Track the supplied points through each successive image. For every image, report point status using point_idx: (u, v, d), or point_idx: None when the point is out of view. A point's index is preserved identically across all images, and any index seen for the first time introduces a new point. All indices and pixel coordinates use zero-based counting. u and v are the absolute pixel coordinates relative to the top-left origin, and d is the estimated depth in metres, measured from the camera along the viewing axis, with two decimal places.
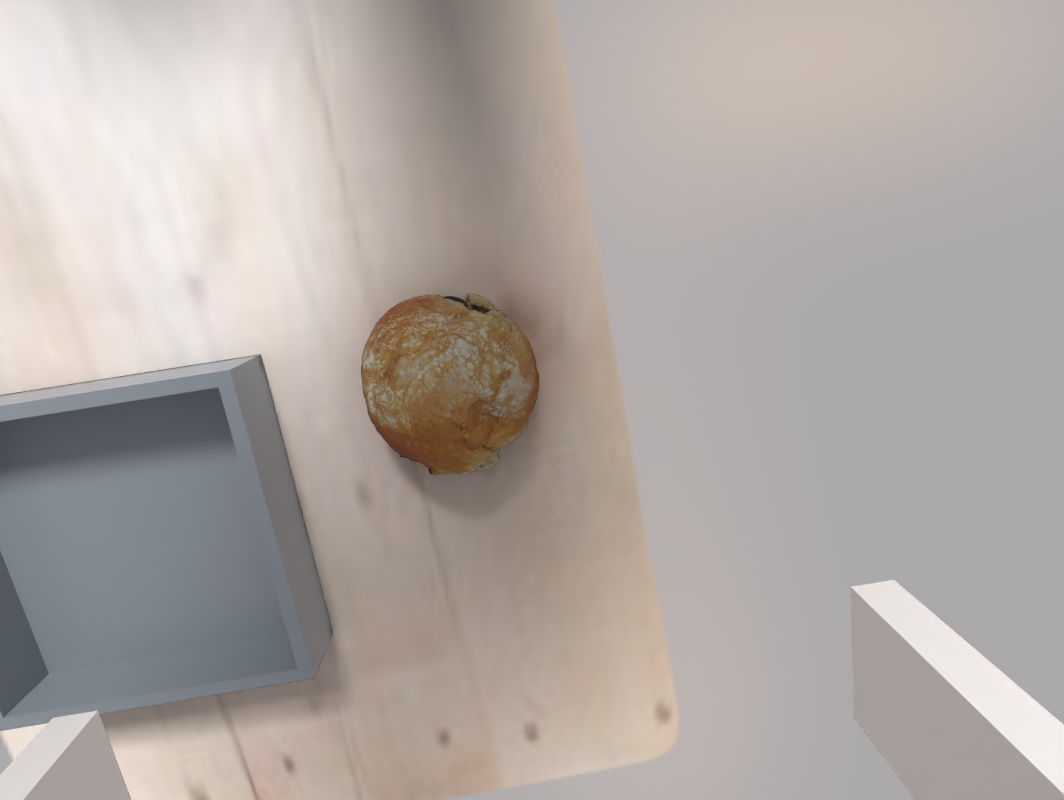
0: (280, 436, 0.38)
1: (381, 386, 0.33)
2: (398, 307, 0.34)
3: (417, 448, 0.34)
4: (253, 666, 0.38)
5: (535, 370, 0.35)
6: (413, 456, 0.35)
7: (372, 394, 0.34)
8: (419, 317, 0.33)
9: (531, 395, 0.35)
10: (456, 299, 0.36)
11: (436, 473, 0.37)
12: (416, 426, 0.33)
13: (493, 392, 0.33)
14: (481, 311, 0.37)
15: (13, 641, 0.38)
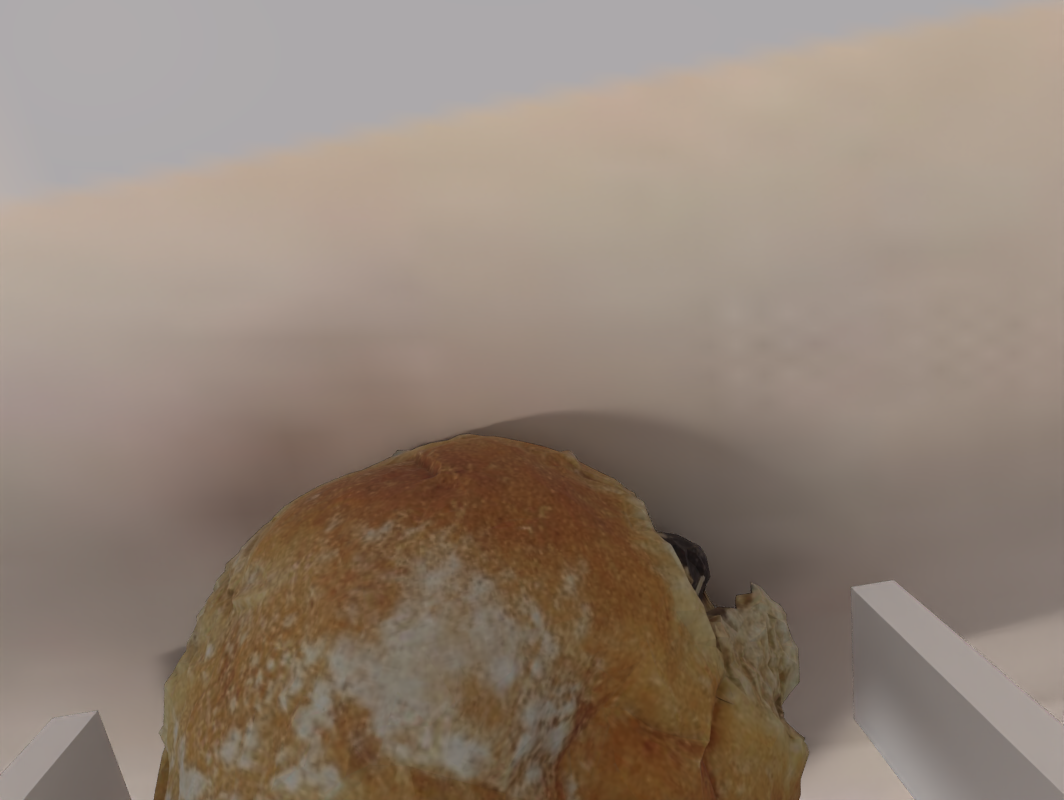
0: None
1: None
2: None
3: None
4: None
5: (391, 508, 0.08)
6: None
7: None
8: None
9: (491, 541, 0.08)
10: None
11: None
12: None
13: None
14: None
15: None
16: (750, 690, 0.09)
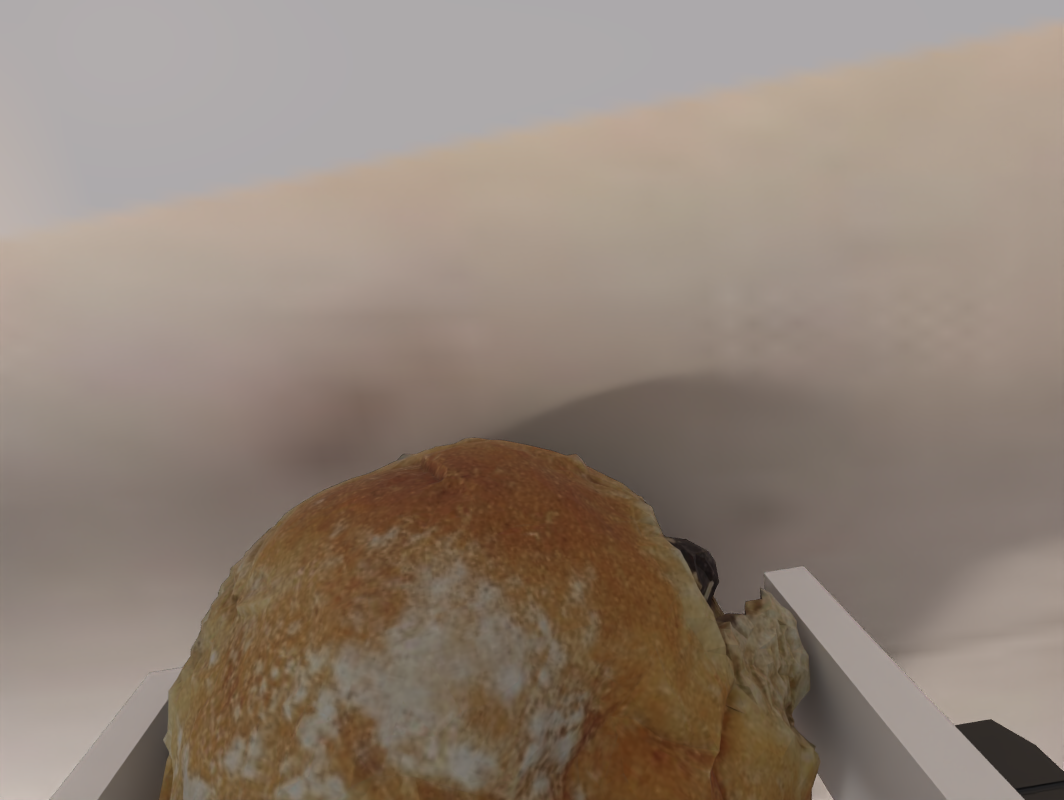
0: None
1: None
2: None
3: None
4: None
5: (396, 514, 0.08)
6: None
7: None
8: None
9: (498, 547, 0.08)
10: None
11: None
12: None
13: None
14: None
15: None
16: (760, 698, 0.09)
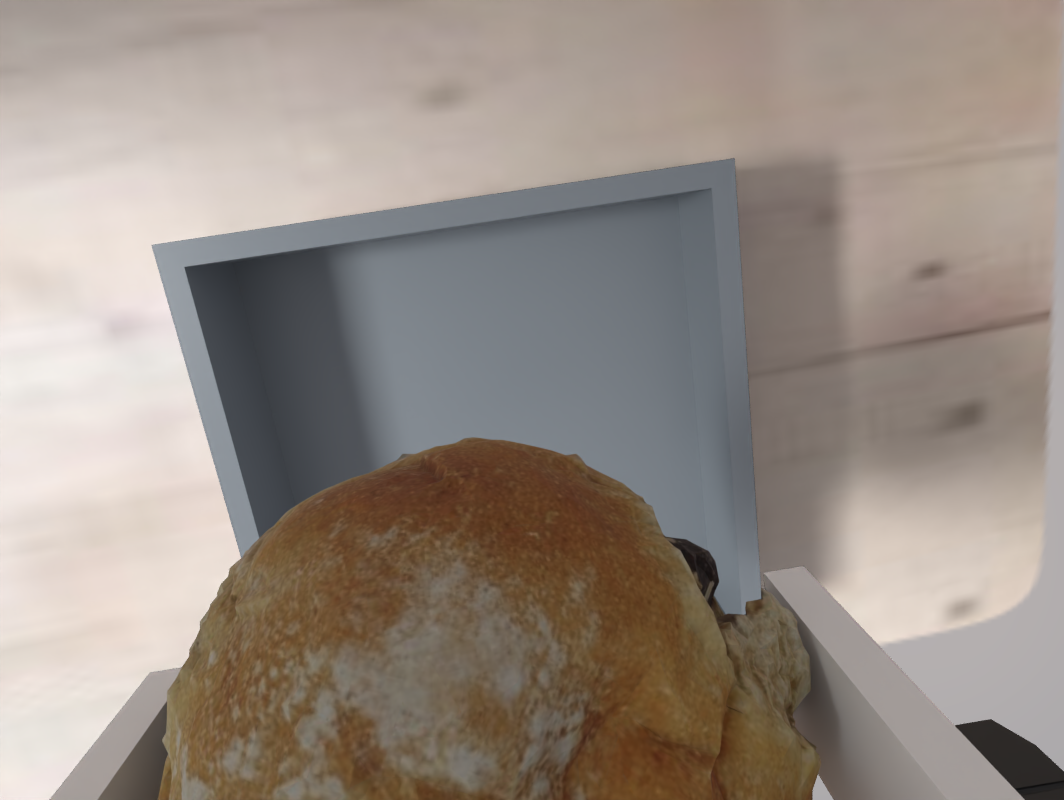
0: None
1: None
2: None
3: None
4: (708, 277, 0.22)
5: (395, 514, 0.08)
6: None
7: None
8: None
9: (498, 547, 0.08)
10: None
11: None
12: None
13: None
14: None
15: None
16: (761, 699, 0.09)
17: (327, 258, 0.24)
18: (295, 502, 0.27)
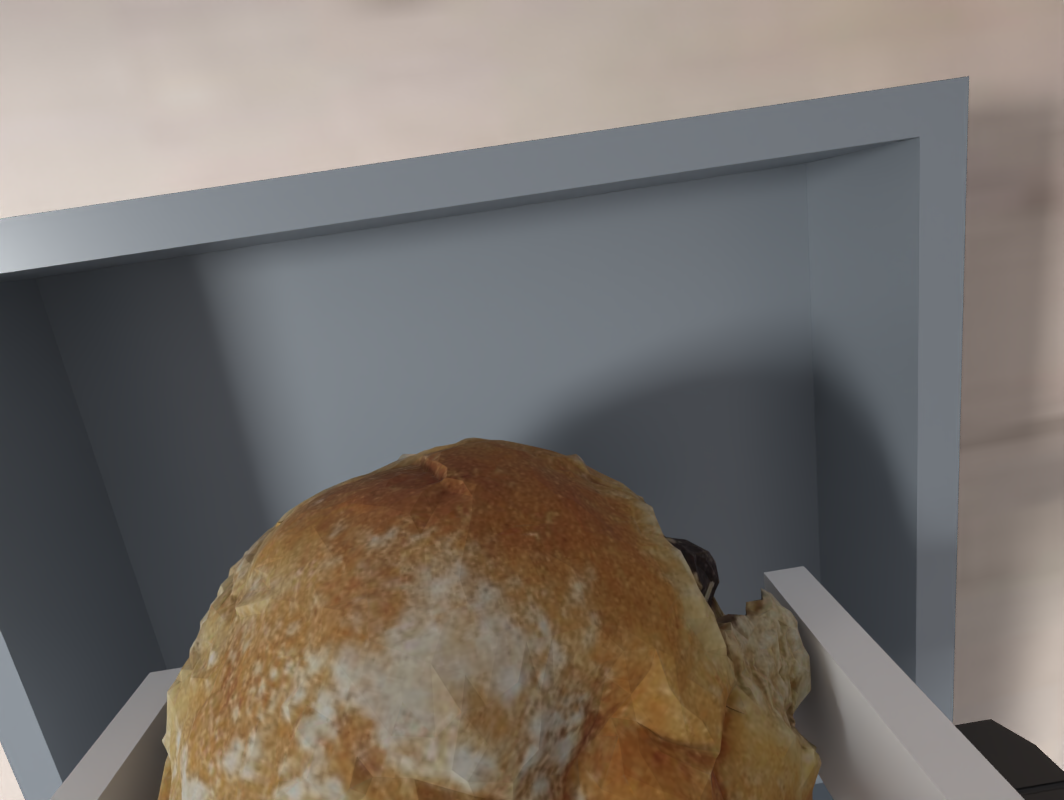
0: None
1: None
2: None
3: None
4: (885, 307, 0.12)
5: (396, 514, 0.08)
6: None
7: None
8: None
9: (498, 548, 0.08)
10: None
11: None
12: None
13: None
14: None
15: None
16: (761, 699, 0.09)
17: (202, 272, 0.14)
18: (167, 667, 0.16)
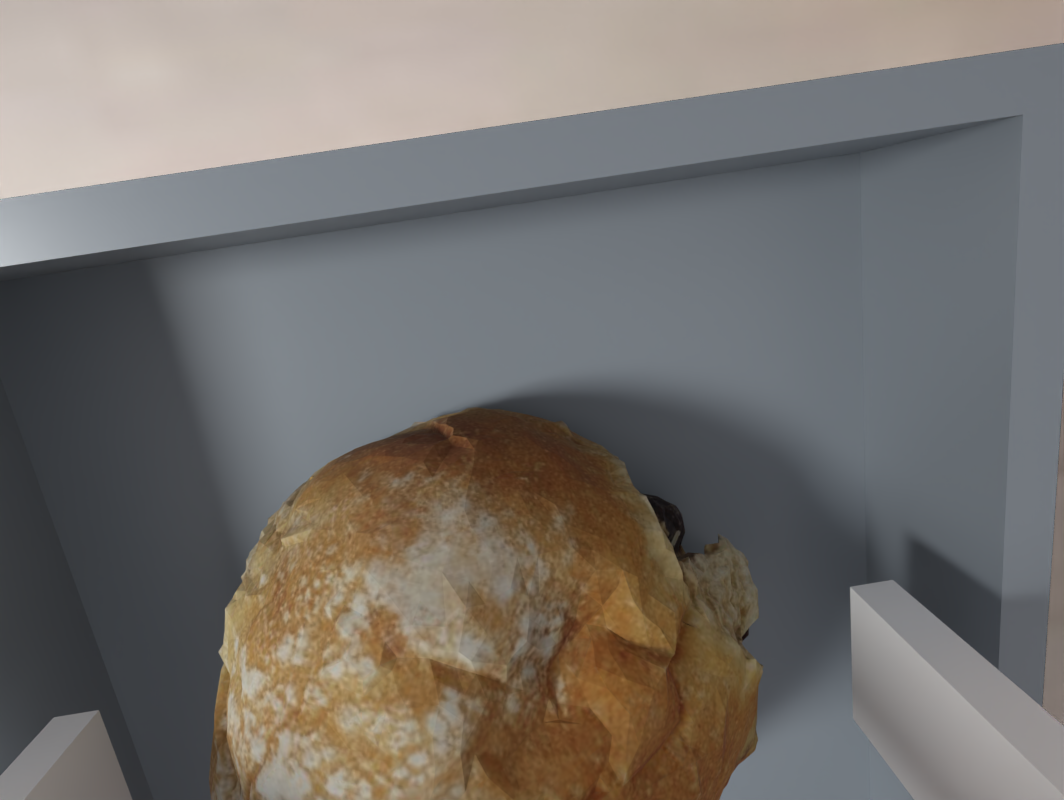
0: None
1: None
2: None
3: None
4: (964, 322, 0.10)
5: (412, 462, 0.10)
6: None
7: None
8: None
9: (495, 488, 0.10)
10: None
11: (753, 744, 0.12)
12: None
13: (447, 695, 0.08)
14: None
15: None
16: (712, 618, 0.11)
17: (161, 278, 0.12)
18: (128, 725, 0.14)
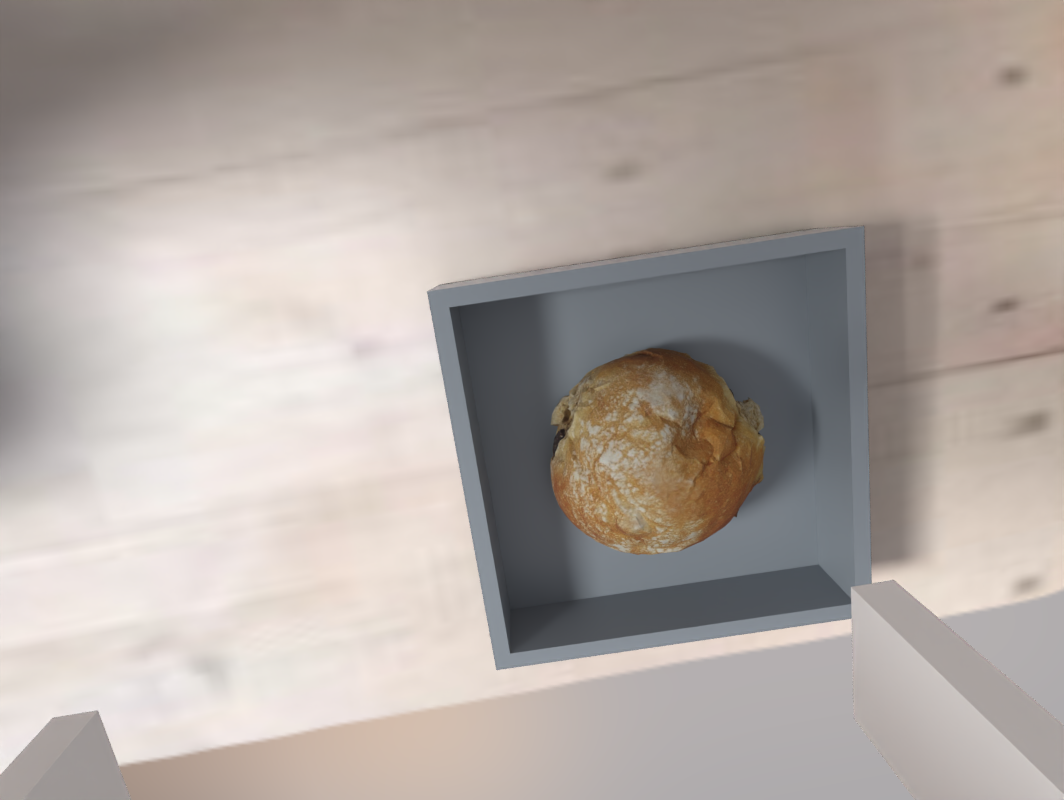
0: None
1: (651, 542, 0.29)
2: (563, 510, 0.31)
3: (729, 508, 0.29)
4: (836, 314, 0.29)
5: (642, 361, 0.29)
6: (738, 508, 0.30)
7: (659, 548, 0.30)
8: (574, 497, 0.29)
9: (673, 368, 0.28)
10: (556, 442, 0.31)
11: (761, 477, 0.30)
12: (702, 514, 0.28)
13: (665, 425, 0.27)
14: (570, 412, 0.32)
15: (767, 587, 0.34)
16: (746, 420, 0.29)
17: (529, 297, 0.31)
18: (490, 487, 0.33)
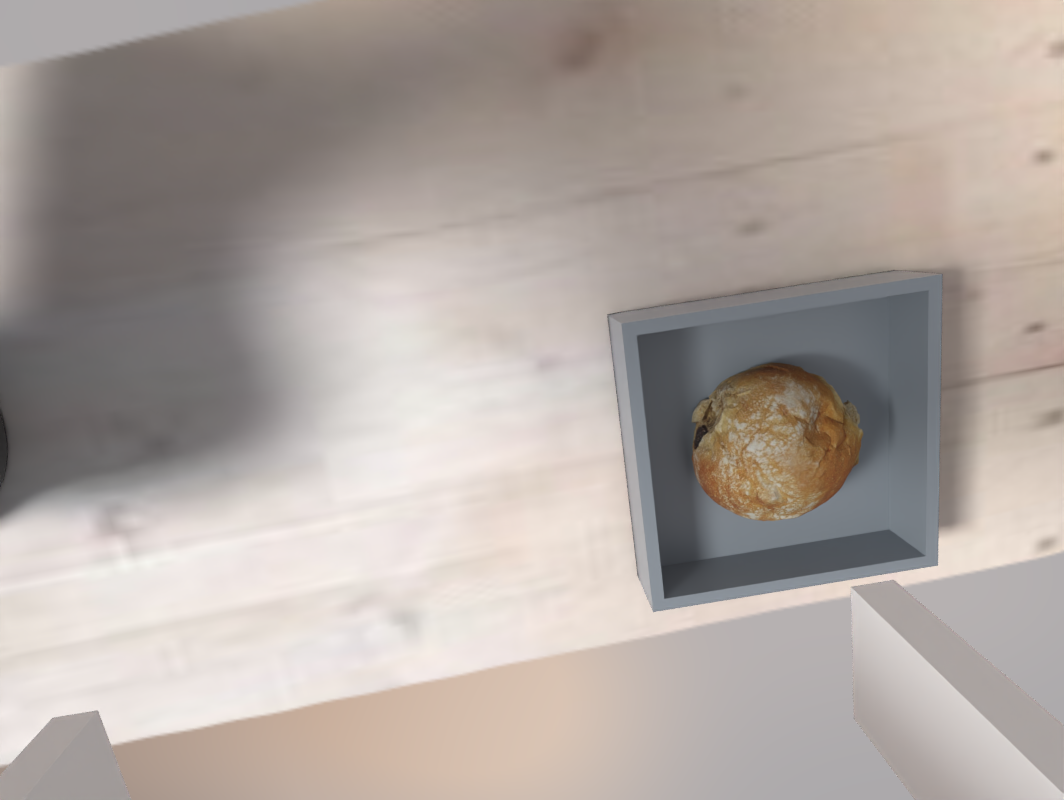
0: (685, 302, 0.40)
1: (779, 510, 0.39)
2: (706, 487, 0.40)
3: (839, 483, 0.38)
4: (917, 337, 0.38)
5: (774, 373, 0.38)
6: None
7: (782, 515, 0.40)
8: (722, 477, 0.38)
9: (798, 379, 0.38)
10: (698, 435, 0.41)
11: (858, 460, 0.40)
12: (822, 488, 0.37)
13: (798, 422, 0.37)
14: (709, 412, 0.41)
15: (853, 546, 0.43)
16: (850, 417, 0.39)
17: None
18: None
